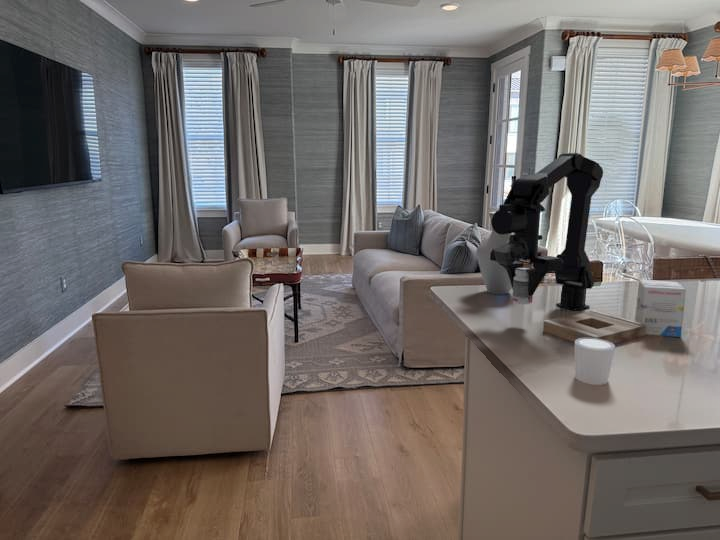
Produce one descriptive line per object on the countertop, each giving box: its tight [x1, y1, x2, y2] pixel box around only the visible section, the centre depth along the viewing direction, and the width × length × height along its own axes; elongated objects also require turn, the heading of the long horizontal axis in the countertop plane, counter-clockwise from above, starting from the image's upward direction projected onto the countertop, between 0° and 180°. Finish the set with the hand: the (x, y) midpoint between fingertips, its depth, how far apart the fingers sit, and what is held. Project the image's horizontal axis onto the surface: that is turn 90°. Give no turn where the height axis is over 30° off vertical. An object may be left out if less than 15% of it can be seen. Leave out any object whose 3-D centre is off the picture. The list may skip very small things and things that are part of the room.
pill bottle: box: [512, 267, 534, 305], centre depth 127 cm, size 5×5×8 cm
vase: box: [476, 211, 513, 296], centre depth 158 cm, size 14×14×25 cm
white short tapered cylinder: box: [574, 338, 616, 386], centre depth 95 cm, size 7×7×7 cm
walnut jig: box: [542, 309, 646, 345], centre depth 121 cm, size 18×14×3 cm
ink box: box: [634, 278, 687, 338], centre depth 122 cm, size 9×8×12 cm
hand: (522, 293), depth 127 cm, fingers closed on pill bottle, 5 cm apart
